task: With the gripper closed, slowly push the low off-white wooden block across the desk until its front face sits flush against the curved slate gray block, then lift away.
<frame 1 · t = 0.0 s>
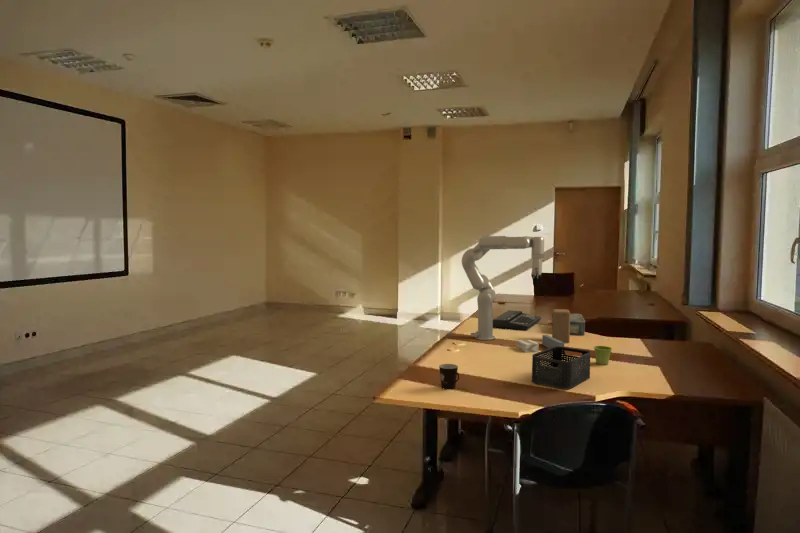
hand: (537, 283, 339), 37 cm above the table, fingers open, 9 cm apart
coffee mug: (448, 388, 250), on the table
off-white block: (527, 350, 323), on the table
curved slate gray block: (552, 348, 326), on the table
storage bin: (561, 380, 263), on the table
plant pot: (602, 363, 292), on the table
vintage computer: (515, 325, 402), on the table
wooden block: (560, 341, 346), on the table
metal box: (567, 331, 380), on the table
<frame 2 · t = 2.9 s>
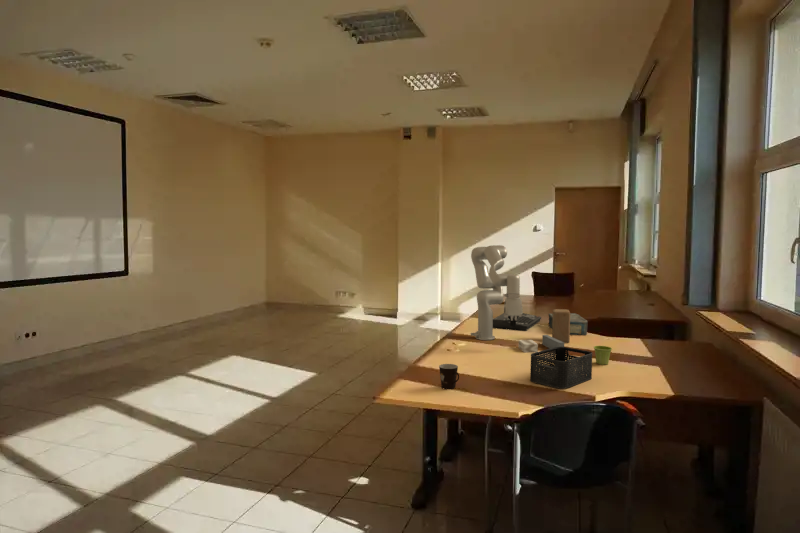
hand: (512, 326, 320), 14 cm above the table, fingers closed
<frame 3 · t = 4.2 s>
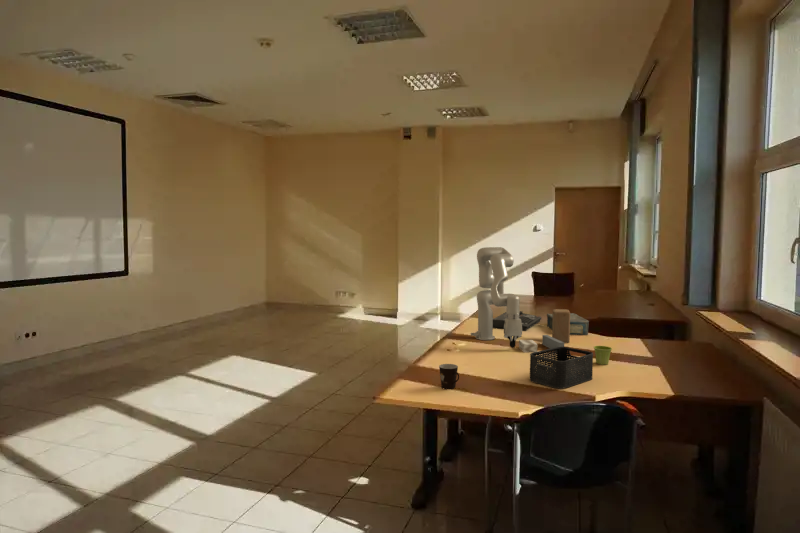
hand: (512, 347, 321), 2 cm above the table, fingers closed
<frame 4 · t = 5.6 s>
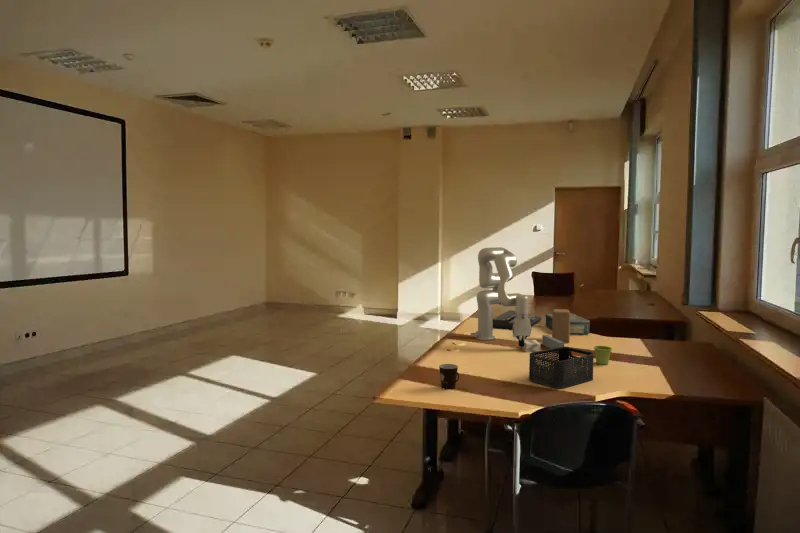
hand: (521, 346, 322), 2 cm above the table, fingers closed
off-white block: (531, 350, 323), on the table, touching gripper
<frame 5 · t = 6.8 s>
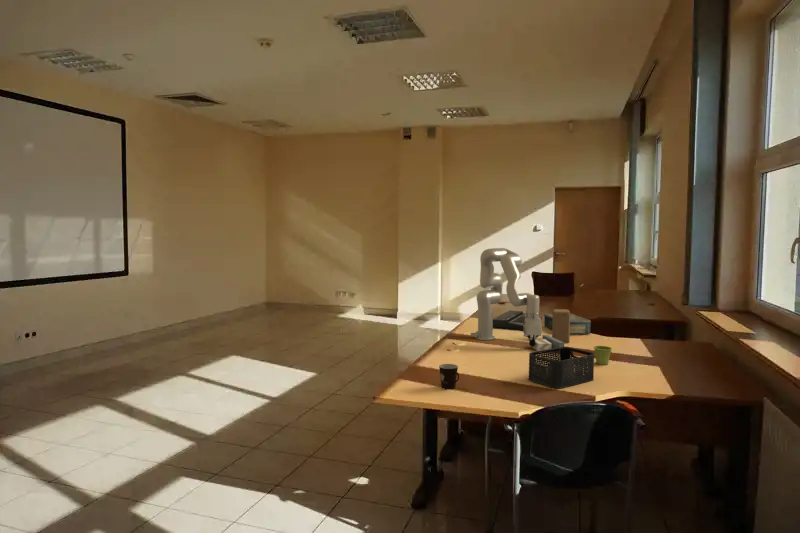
hand: (532, 346, 323), 2 cm above the table, fingers closed
off-white block: (541, 349, 325), on the table, touching gripper
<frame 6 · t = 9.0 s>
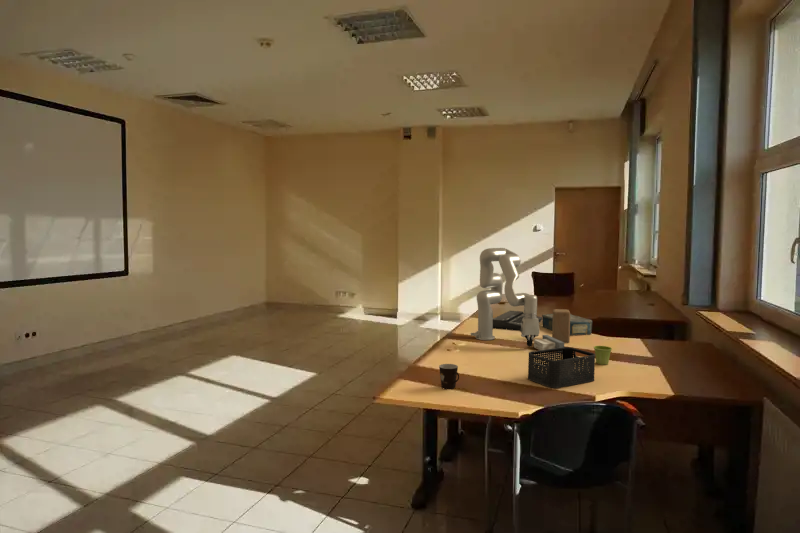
hand: (529, 346, 323), 2 cm above the table, fingers closed
off-white block: (544, 349, 325), on the table
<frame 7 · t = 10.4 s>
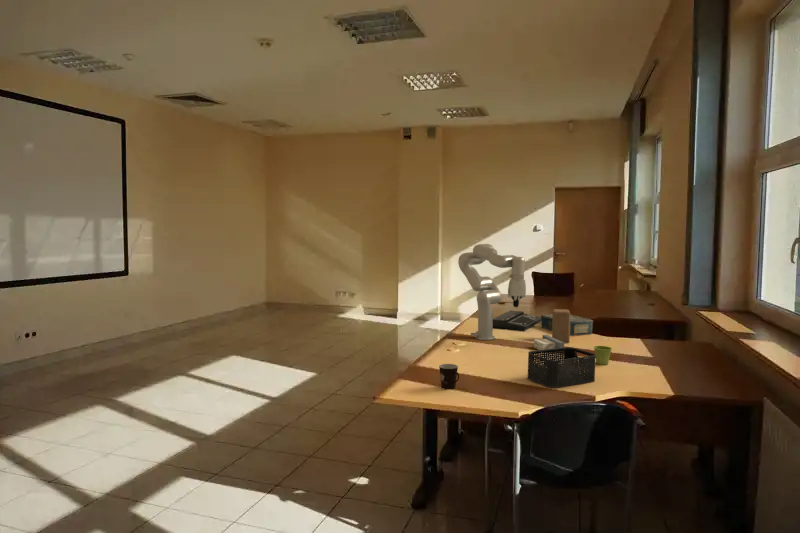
hand: (515, 306, 332), 24 cm above the table, fingers closed
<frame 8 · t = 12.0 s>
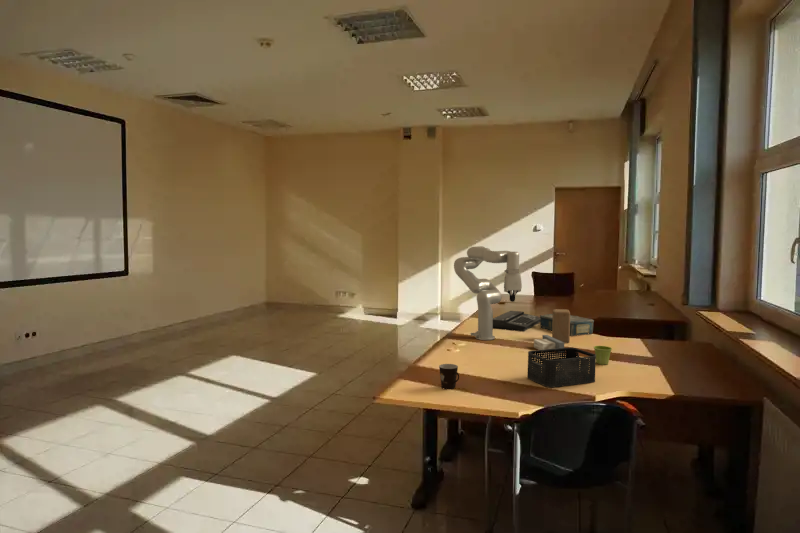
hand: (512, 301, 335), 27 cm above the table, fingers closed
at the end: off-white block inside the target area on the table beside the curved slate gray block (0.4 cm from its centre), on the table; off-white block tilted 0° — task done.
